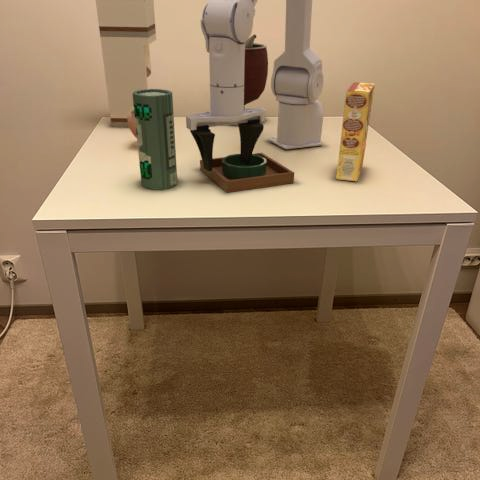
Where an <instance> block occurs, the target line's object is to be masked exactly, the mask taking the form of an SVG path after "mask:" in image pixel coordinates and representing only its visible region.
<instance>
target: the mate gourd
mask: <svg viewBox="0 0 480 480" xmlns="http://www.w3.org/2000/svg"><path fill="white" fill-rule="evenodd" d="M255 39H257V34H252V35H250V36H249V38H248V40H247V41H245V64H244V109H246V107H245V106H246V105H247V104H251V103H253V102H254V101H256V100H259V98H260V97H261V96H262V95H263V93H264V91H265V89H266V85H267V81H268V74H269V55H268V49H267V47H268V45H267V44H263V43H256V42H255ZM260 123H261V124H262V122H260ZM229 126H235V127H236V126H238V124H230V125H229ZM238 127H239V126H238Z"/></svg>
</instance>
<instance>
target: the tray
mask: <svg viewBox="0 0 480 480" xmlns="http://www.w3.org/2000/svg"><path fill="white" fill-rule="evenodd" d="M252 154H253V155H259V156H262V157H263V158H265V159H266V161H267V166H266V175H265V176H258V177H250V178H243V179H236V180H233V179H230V178H227V177H225V176H224V175H223V172H222V160H223V158H224V157H225V156H221V157H214V158H213V168H212V171H207V170H206V169H204V166H203V161H202V159H200V160H199V170H200V171H201V172H202V173H203V174H204V175H205V176H207V177H208V178H209V179H210V180H211V181H213V182H214V183H215V184H216V185H217V186H219V188H221V189H222V190H223V191H224V192H225V193H233V192H240V191H241V192H242V191H248V190H254V189H260V188H261V189H262V188H269V187H275V186H281V185H288V184H289V185H290V184H295V183H294V182H295V172H294V171H293V170H291V169H289V168H287V167H286V166H284V165H283V164H281V163H280V162H278V161H276V160H274V159H273V158H271V157H270V156H268V155H266V154H265V153H263V152H256V153H252Z"/></svg>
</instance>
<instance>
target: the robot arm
mask: <svg viewBox="0 0 480 480" xmlns="http://www.w3.org/2000/svg"><path fill="white" fill-rule="evenodd" d="M257 2H259V0H209V1H208V2H207V3H206V4H205V5H204V7H203V10H202V14H201V19H200V28H201V32H202V35H203V37H204V41H205V49H206V53H208V58H209V61H208V63H209V110H208V111H204V112H200V113H196V114H190V115H186V116H185V126H186V127H185V128H186V129H188V130H189V132H190V134H191V136H192V137H193V139H194V141H195V143H196V146H197V148H198V151H199V154H200V157H201V160H202V161H203V166H204V169H206V170H207V171H212V168H213V157H214V156H213V153H214V151H213V150H214V142H215V137H216V133H214V132H212V131H211V129H210V128H212V127H213V128H214V127H221V126H231V125H230V124H238V131H239V140H240V153H239V154H240V158H241V163H243V164H245V165H249V164H250V160H251V156H252V154H254V153H253V152H254V149H255V146H256V144H257V142H258V140H259V138H260V137H261V134H262V133H263V131H264V122H266V117H267V115H266V114H267V110H266V109H264V108H261V107H255V108H254V107H252V108H251V107H250V108H245V109H244V107H245V105H244V64H245V42H246V41H247V40H248V39H249V38H250V37H251V36H252V32H253V27H254V18H255V15H256V9H255V7H256V5H257ZM312 10H313V0H286V1H285V26H284V27H285V28H284V29H285V33H284V51H282V52H281V53H280V54H279V55H278V56H277V57H276V58H275V59H274V60H273V69H272V73H271V79H270V89H271V92H272V94H273V96H274V97H275V101H277V102H278V111H277V128H276V137H270V138H269V140H268V141H269V142H270V143H273V144H275V145H276V146H278V147H280V148H281V149H284V150H293V149H301V148H311V147H319V146H320V147H321V146H323V142H321V141H322V132H323V123H324V110H323V109H324V108H323V105H322V103H321V102H320V101H319V100H318V99H319V98H320V96H321V94H322V92H323V88H324V73H323V60H322V59H321V58H320V57H319V56H318V54H316V53H315V52H314V51H313V50H312V49H311V47H310V46H311V32H312V31H311V30H312V13H313V11H312ZM260 122H261V123H260ZM262 122H263V123H262Z"/></svg>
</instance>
